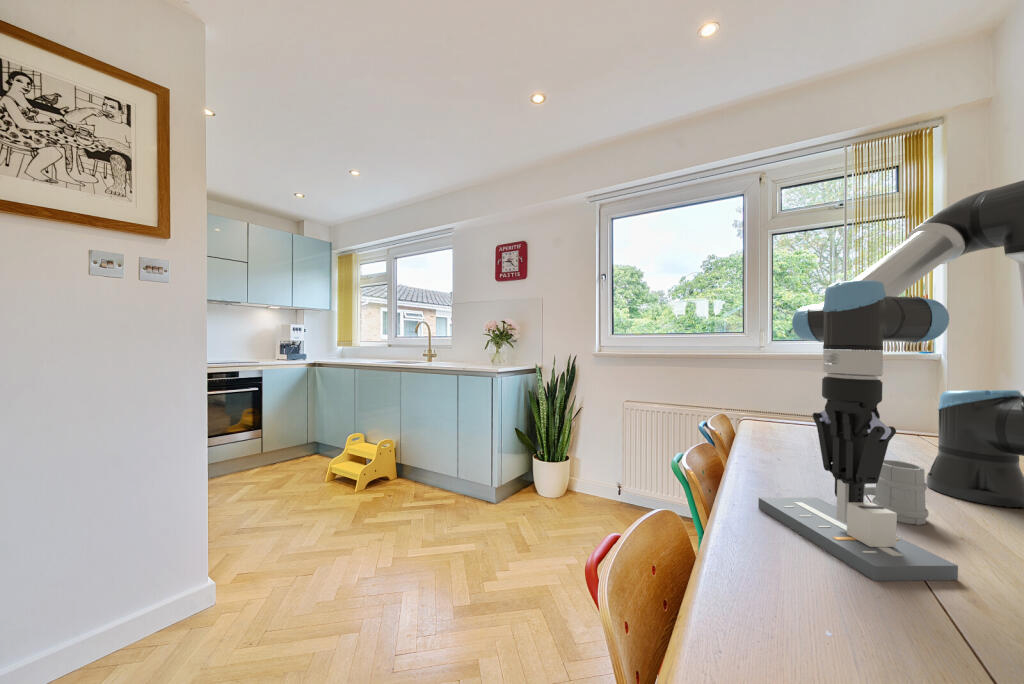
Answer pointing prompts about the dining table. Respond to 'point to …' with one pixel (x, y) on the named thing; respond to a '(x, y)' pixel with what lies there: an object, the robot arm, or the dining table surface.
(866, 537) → the fader tab
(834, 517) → the console
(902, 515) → the mug
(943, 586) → the dining table surface
